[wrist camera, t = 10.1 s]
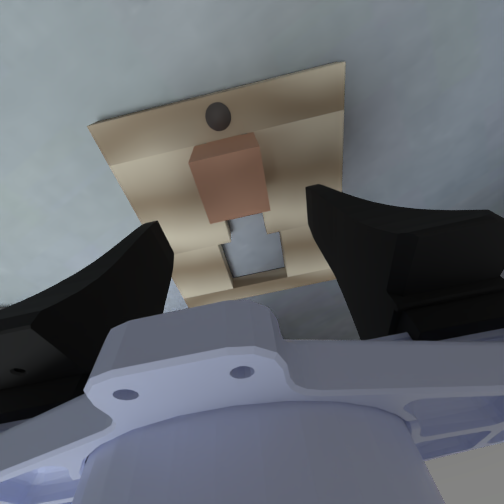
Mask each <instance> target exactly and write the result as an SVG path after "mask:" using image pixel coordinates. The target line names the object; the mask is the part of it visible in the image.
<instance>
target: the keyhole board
mask: <svg viewBox="0 0 504 504" xmlns="http://www.w3.org/2000/svg"><path fill="white" fill-rule="evenodd" d="M344 95H345V62H334V63H330V64H326V65H322V66H318V67H314V68H310V69H306V70H302V71H298V72H294V73H290V74H286V75H282V76H278V77H274V78H270V79H266V80H262V81H258V82H254V83H250V84H246V85H242V86H238V87H234V88H230V89H226V90H222V91H218V92H214V93H210V94H206V95H202V96H198V97H194V98H190V99H186V100H182V101H178V102H174V103H170V104H166V105H162V106H158V107H154V108H150V109H146V110H142V111H138V112H134V113H130V114H126V115H122V116H118V117H114V118H110V119H106V120H102V121H98V122H95V123H93V124H91V125H89V126H87V127H88V129H89V131H90V133H91V134H92V136H93V138H94V140H95V142H96V143H97V145H98V147H99V149H100V150H101V152H102V154H103V156H104V158H105V159H106V161H107V163H108V165H109V166H110V168H111V170H112V172H113V174H114V175H115V177H116V179H117V181H118V183H119V184H120V186H121V188H122V190H123V191H124V193H125V195H126V197H127V199H128V200H129V202H130V204H131V206H132V207H133V209H134V211H135V213H136V215H137V216H138V218H139V220H140V222H141V224H142V225H143V224H145V223H148V222H152V221H157V220H158V222H159V224H160V226H161V228H162V230H163V232H164V234H165V236H166V238H167V240H168V242H169V244H170V246H171V248H172V250H173V252H174V266H173V273H172V279H173V281H174V282H175V284H176V286H177V288H178V289H179V291H180V293H181V295H182V297H183V298H184V300H185V302H186V304H187V305H188V307H189V308H192V307H197V306H202V305H207V304H211V303H216V302H221V301H226V300H237V299H242V298H247V297H252V296H256V295H261V294H266V293H271V292H276V291H281V290H286V289H290V288H295V287H300V286H305V285H310V284H315V283H320V282H324V281H329V280H334V279H336V277H335V275H334V273H333V272H332V270H331V268H330V266H329V265H328V263H327V261H326V260H325V258H324V256H323V254H322V253H321V251H320V249H319V248H318V246H317V244H316V242H315V240H314V238H313V236H312V233H311V231H310V228H309V226H308V219H307V204H306V190H305V187H307V186H311V185H316V184H321V185H324V186H327V187H330V188H332V189H335V190H337V191H340V192H342V164H343V129H344ZM252 132H254V135H255V137H256V139H257V141H258V144H259V146H260V151H261V157H262V163H263V169H264V175H265V181H266V186H267V192H268V198H269V204H270V210H271V211H267V212H262V213H263V218H264V223H265V228H266V232H267V234H270V233H275V232H279V233H280V240H281V246H282V252H283V259H284V265H285V267H284V268H279V269H275V270H270V271H265V272H260V273H256V274H251V275H246V276H241V277H237V278H233V277H232V274H231V271H230V269H229V266H228V263H227V260H226V257H225V254H224V251H223V248H222V245H221V244H224V243H229V242H231V232H230V229H229V225H228V222H227V220H226V221H222V222H217V223H213V224H210V222H209V220H208V217H207V214H206V211H205V208H204V206H203V203H202V200H201V197H200V195H199V192H198V189H197V186H196V183H195V181H194V178H193V175H192V172H191V169H190V167H189V164H188V162H189V159H190V157H191V154H192V151H193V148H194V146H198V145H202V144H204V143H208V142H212V141H216V140H220V139H224V138H229V137H233V136H237V135H241V134H245V133H247V134H248V133H252Z"/></svg>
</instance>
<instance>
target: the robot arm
mask: <svg viewBox="0 0 504 504" xmlns="http://www.w3.org/2000/svg"><path fill="white" fill-rule="evenodd" d="M305 190H306V204H307V219H308V226H309V228H310V231H311V233H312V236H313V238H314V240H315V242H316V244H317V246H318V248H319V249H320V251H321V253H322V254H323V256H324V258H325V260H326V261H327V263H328V265H329V266H330V268H331V270H332V272H333V273H334V275H335V277H336V279H337V282H338V284H339V286H340V289H341V291H342V293H343V296H344V298H345V301H346V303H347V305H348V308H349V310H350V313H351V315H352V318H353V321H354V323H355V326H356V328H357V331H358V334H359V336H360V339H361V340H291V339H283V337H282V335H281V332H280V328H279V323H278V319H277V318H276V316H275V315H274V314H273V312H272V311H271V310H270V308H269V307H267V306H264V305H261V304H259V303H256V302H253V301H251V300H226V301H221V302H216V303H211V304H207V305H202V306H197V307H192V308H187V309H182V310H178V311H173V312H168V313H163V310H164V305H165V301H166V297H167V293H168V289H169V285H170V281H171V277H172V273H173V266H174V252H173V250H172V248H171V246H170V244H169V242H168V240H167V238H166V236H165V234H164V232H163V230H162V228H161V226H160V224H159V222H158V220H157V221H152V222H148V223H145V224H143V225H141V226H140V227H138V228H137V229H136V230H134V231H133V232H132V233H131V234H129V235H128V236H127V237H126V238H124V239H123V240H122V241H121V242H119V243H118V244H117V245H116V246H114V247H113V248H112V249H110V250H109V251H108V252H106V253H105V254H104V255H103V256H101V257H100V258H99V259H97V260H96V261H94V262H93V263H91V264H90V265H88V266H87V267H85V268H84V269H82V270H80V271H79V272H77V273H76V274H74V275H72V276H70V277H69V278H67V279H65V280H63V281H61V282H59V283H58V284H56V285H54V286H52V287H50V288H48V289H46V290H44V291H42V292H40V293H38V294H36V295H34V296H32V297H29V298H27V299H25V300H23V301H21V302H18V303H16V304H14V305H11V306H9V307H6V308H4V309H1V310H0V504H445V502H444V500H443V498H442V496H441V494H440V492H439V490H438V488H437V486H436V484H435V482H434V480H433V478H432V476H431V474H430V472H429V470H428V468H427V467H426V464H425V462H424V461H427V460H431V459H435V458H440V457H444V456H448V455H452V454H456V453H461V452H465V451H469V450H473V449H477V448H482V447H485V446H490V445H494V444H498V443H503V442H504V279H503V278H502V277H501V276H500V275H501V273H502V271H503V270H504V218H502V217H501V216H499V215H497V214H495V213H493V212H492V211H490V210H426V209H413V208H405V207H397V206H390V205H385V204H380V203H376V202H371V201H367V200H364V199H361V198H357V197H354V196H351V195H348V194H345V193H343V192H340V191H337V190H335V189H332V188H330V187H327V186H324V185H321V184H316V185H311V186H307V187H305Z"/></svg>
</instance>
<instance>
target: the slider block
mask: <svg viewBox="0 0 504 504" xmlns="http://www.w3.org/2000/svg"><path fill="white" fill-rule="evenodd" d="M188 164H189V167H190V169H191V172H192V175H193V178H194V181H195V183H196V186H197V189H198V192H199V195H200V197H201V200H202V203H203V206H204V208H205V211H206V214H207V217H208V220H209V222H210V224H213V223H217V222H222V221H226V220H231V219H235V218H240V217H244V216H249V215H253V214H258V213H262V212H267V211H271V210H270V204H269V198H268V192H267V186H266V181H265V175H264V169H263V163H262V157H261V151H260V146H259V144H258V141H257V139H256V137H255V135H254V132H252V133H248V134H243V135H237V136H233V137H229V138H224V139H220V140H216V141H212V142H208V143H206V144H202V145H198V146H194V148H193V151H192V154H191V157H190V159H189V162H188Z"/></svg>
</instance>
